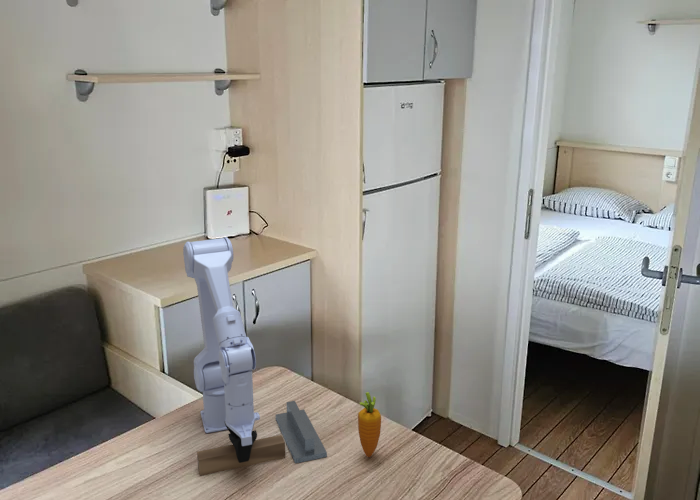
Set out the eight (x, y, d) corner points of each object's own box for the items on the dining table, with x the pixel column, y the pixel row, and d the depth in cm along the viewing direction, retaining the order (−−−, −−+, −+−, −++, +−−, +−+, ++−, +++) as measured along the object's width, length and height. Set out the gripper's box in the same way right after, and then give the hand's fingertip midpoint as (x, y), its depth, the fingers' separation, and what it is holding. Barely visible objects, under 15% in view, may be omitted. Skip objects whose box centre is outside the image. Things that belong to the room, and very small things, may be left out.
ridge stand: (275, 418, 150) (275, 401, 149) (304, 413, 153) (303, 396, 151) (295, 463, 134) (294, 444, 133) (326, 456, 136) (326, 438, 135)
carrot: (378, 465, 134) (380, 402, 129) (355, 462, 135) (356, 400, 130) (381, 451, 138) (383, 390, 134) (359, 448, 139) (360, 388, 135)
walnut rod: (198, 468, 133) (196, 451, 131) (281, 450, 139) (281, 434, 138) (200, 476, 130) (198, 460, 129) (285, 458, 136) (285, 442, 135)
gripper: (266, 413, 125) (268, 472, 129) (251, 379, 138) (253, 433, 142) (230, 420, 122) (233, 479, 126) (218, 384, 135) (222, 439, 139)
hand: (242, 456), depth 134 cm, fingers closed on walnut rod, 3 cm apart
